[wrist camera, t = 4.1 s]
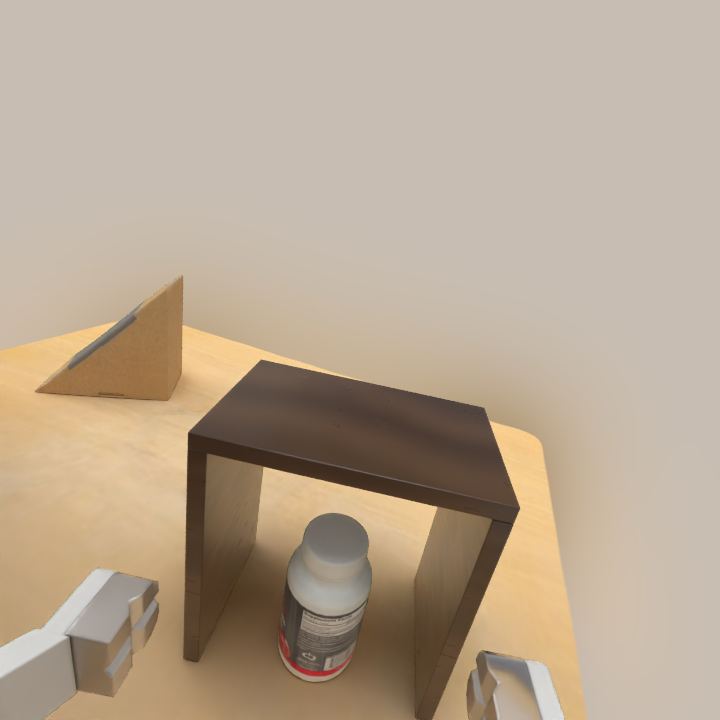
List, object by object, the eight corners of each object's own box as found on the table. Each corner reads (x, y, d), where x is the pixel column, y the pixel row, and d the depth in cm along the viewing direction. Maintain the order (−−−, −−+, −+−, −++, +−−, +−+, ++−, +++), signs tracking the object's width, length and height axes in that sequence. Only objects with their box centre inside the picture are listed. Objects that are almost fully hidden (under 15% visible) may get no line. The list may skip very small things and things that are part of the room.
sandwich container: (66, 363, 57) (54, 256, 51) (182, 373, 60) (183, 274, 55) (32, 392, 49) (14, 270, 43) (167, 401, 52) (167, 289, 47)
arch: (431, 722, 25) (521, 508, 18) (182, 658, 25) (187, 432, 19) (426, 581, 34) (484, 407, 28) (244, 538, 35) (260, 359, 28)
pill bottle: (280, 603, 30) (295, 501, 26) (351, 605, 31) (375, 507, 27) (272, 685, 25) (289, 573, 21) (357, 686, 26) (387, 577, 22)
